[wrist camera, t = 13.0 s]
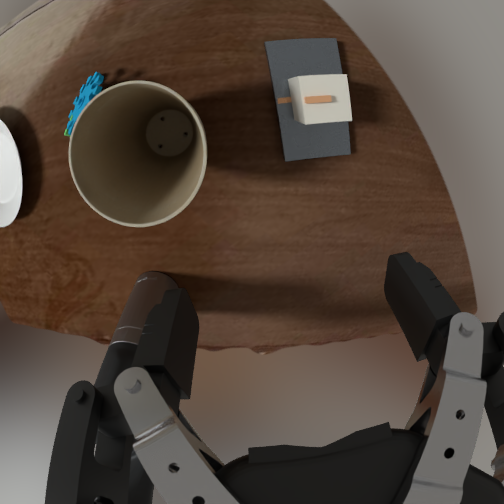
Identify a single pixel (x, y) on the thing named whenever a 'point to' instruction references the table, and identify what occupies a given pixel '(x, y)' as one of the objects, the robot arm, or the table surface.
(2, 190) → the bowl
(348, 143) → the panel
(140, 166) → the plant pot
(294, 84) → the white and orange block
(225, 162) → the table surface
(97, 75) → the gear
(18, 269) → the table surface
